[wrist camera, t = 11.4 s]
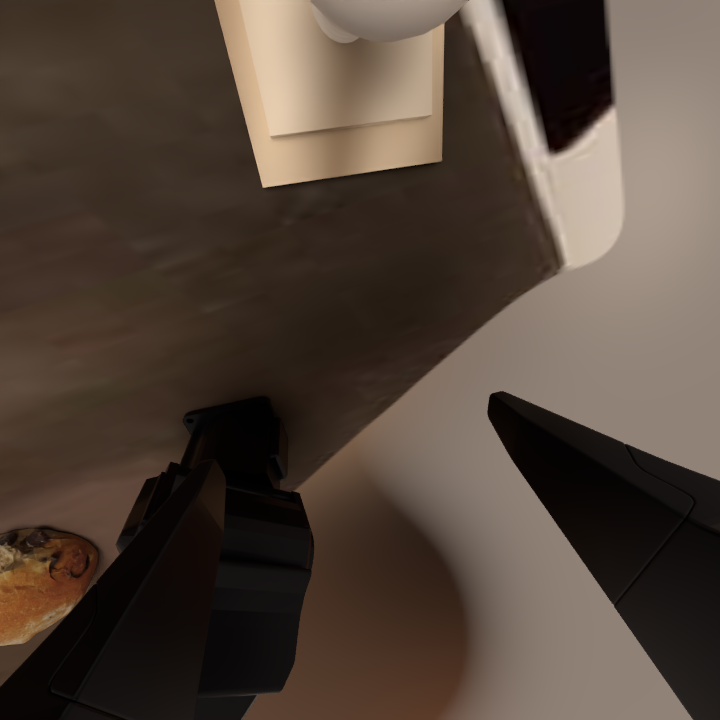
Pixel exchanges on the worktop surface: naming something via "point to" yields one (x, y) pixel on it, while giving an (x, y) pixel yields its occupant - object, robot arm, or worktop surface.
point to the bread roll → (40, 580)
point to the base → (331, 94)
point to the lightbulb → (381, 18)
